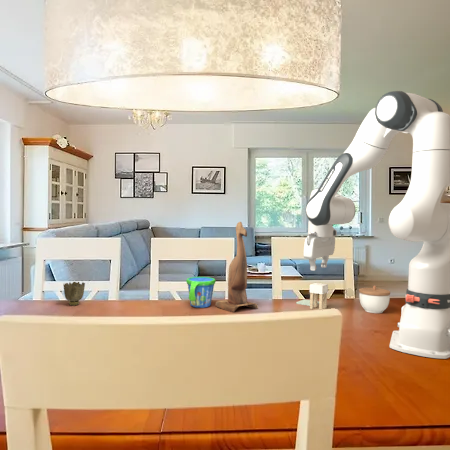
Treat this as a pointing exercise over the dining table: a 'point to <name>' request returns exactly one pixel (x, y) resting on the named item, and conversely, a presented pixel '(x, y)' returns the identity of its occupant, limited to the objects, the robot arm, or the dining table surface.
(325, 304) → the stool
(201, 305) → the snack cup
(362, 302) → the lidded jar
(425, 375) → the dining table surface
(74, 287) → the cup
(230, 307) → the bird sculpture
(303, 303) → the mat
